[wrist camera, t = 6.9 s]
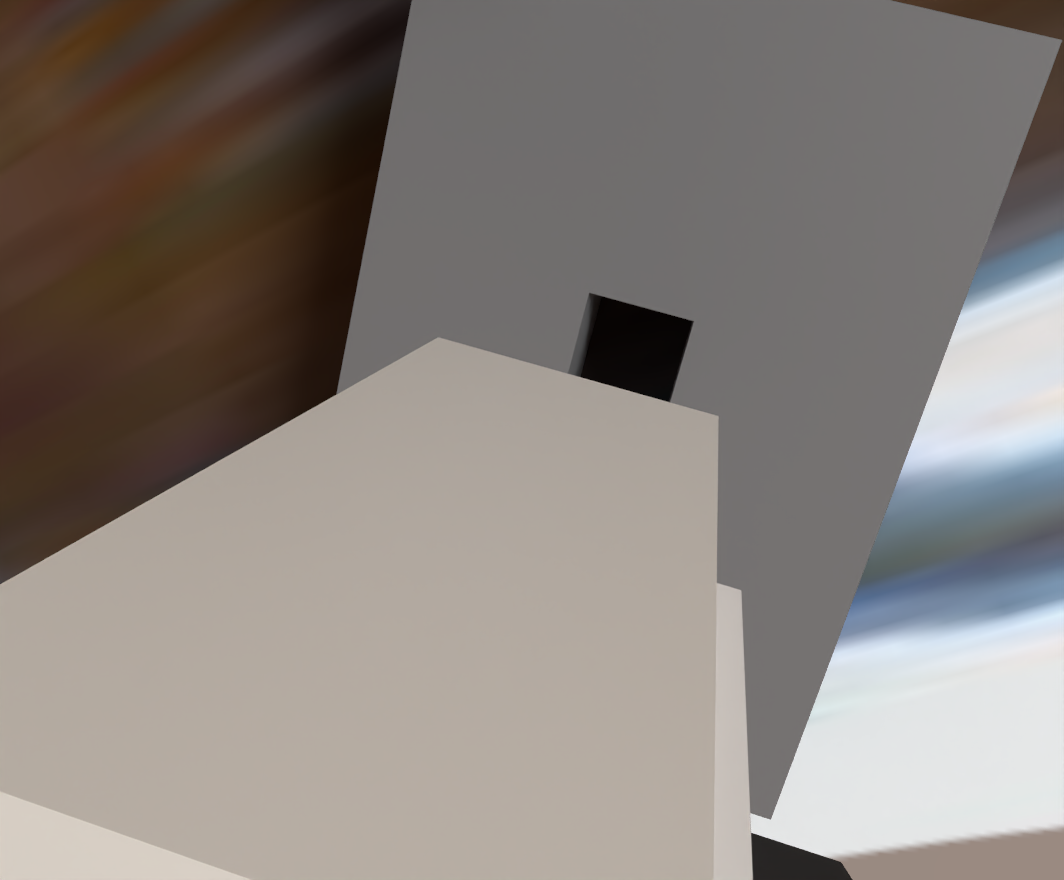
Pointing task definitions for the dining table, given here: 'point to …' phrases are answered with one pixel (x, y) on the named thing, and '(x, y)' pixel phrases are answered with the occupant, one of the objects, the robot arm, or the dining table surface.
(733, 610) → the robot arm
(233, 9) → the dining table surface
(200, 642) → the plug
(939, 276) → the header
